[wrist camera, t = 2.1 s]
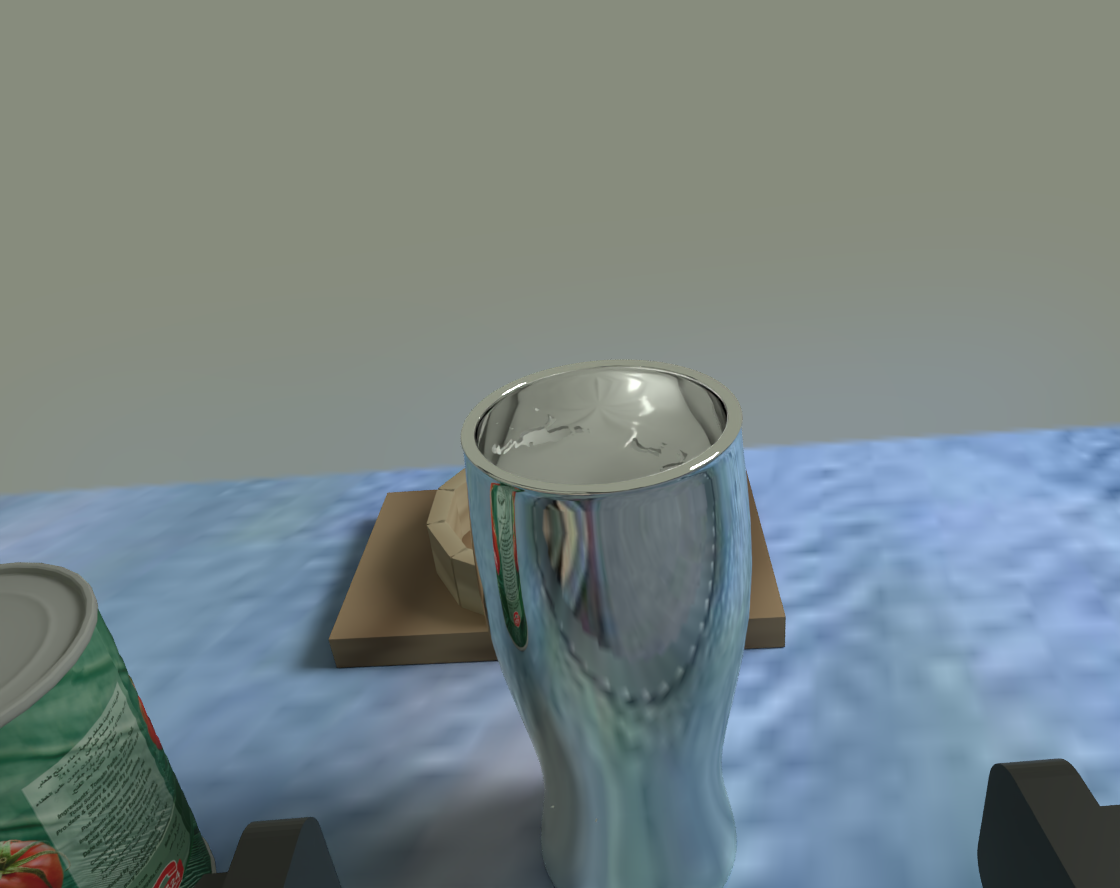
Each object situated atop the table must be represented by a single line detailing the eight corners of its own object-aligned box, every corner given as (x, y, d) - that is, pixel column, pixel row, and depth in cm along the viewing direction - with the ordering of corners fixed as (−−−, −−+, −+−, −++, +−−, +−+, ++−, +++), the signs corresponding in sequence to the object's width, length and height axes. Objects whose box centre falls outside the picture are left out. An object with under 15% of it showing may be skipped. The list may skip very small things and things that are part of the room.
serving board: (336, 667, 36) (313, 590, 34) (393, 517, 46) (377, 450, 44) (784, 646, 35) (786, 564, 33) (746, 495, 44) (745, 424, 42)
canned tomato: (224, 790, 31) (117, 533, 26) (209, 1010, 25) (62, 724, 19) (-20, 860, 30) (-185, 602, 25) (-106, 1114, 23) (-359, 834, 18)
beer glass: (564, 737, 32) (510, 352, 25) (763, 770, 30) (767, 358, 23) (496, 917, 26) (399, 483, 19) (736, 974, 24) (729, 509, 17)
